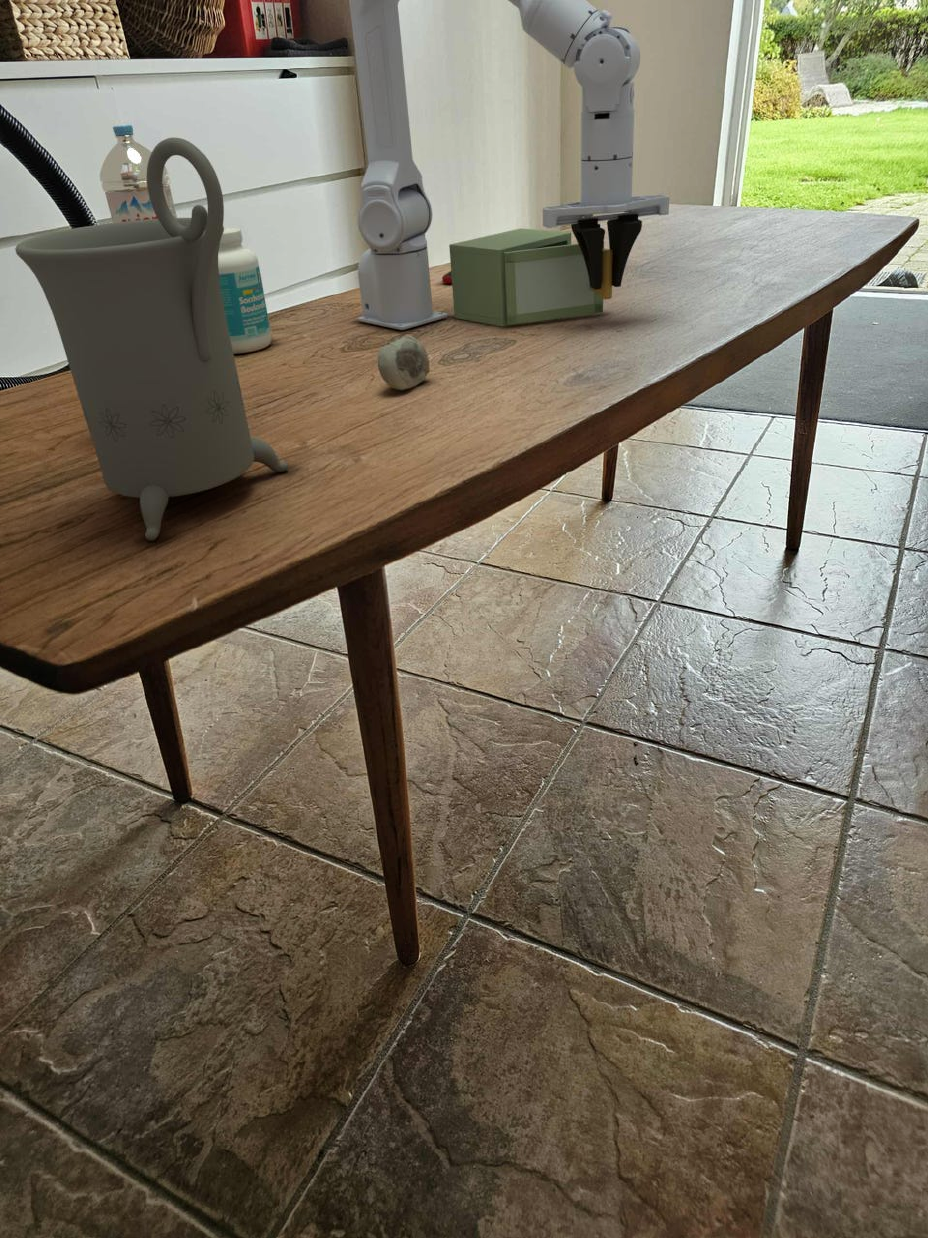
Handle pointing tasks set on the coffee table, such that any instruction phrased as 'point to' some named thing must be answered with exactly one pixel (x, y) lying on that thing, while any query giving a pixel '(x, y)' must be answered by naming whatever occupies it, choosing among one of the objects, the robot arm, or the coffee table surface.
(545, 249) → the cabinet door
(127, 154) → the water bottle
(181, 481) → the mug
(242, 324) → the pill bottle
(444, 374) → the coffee table surface
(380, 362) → the fossil
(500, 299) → the cabinet
